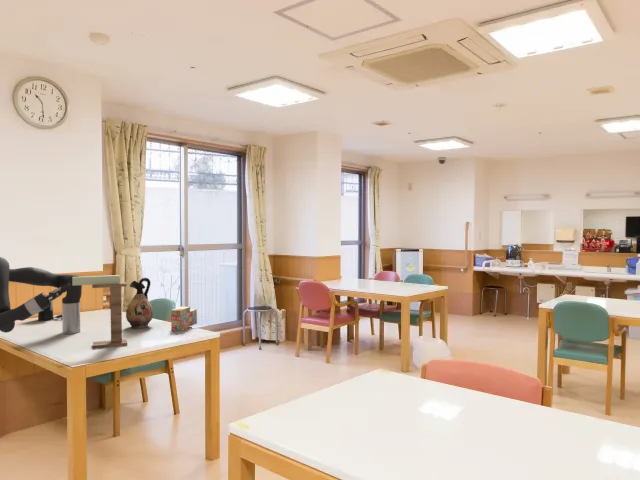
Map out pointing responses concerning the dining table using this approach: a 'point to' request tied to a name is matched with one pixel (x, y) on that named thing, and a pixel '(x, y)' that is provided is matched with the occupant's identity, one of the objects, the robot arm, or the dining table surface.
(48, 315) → the milk frother
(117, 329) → the walnut stand
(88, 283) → the sage batten
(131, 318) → the ceramic jug
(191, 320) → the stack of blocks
